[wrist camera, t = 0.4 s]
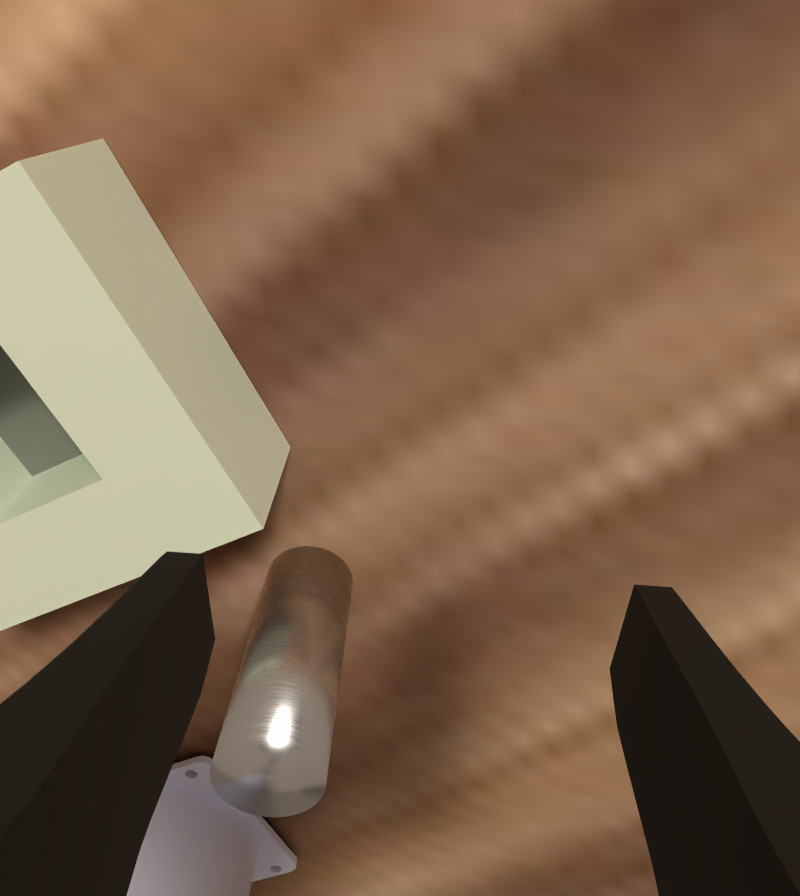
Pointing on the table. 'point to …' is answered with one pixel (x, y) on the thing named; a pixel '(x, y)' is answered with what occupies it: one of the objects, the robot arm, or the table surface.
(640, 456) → the table surface
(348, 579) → the pin
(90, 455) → the bore block
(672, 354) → the table surface
